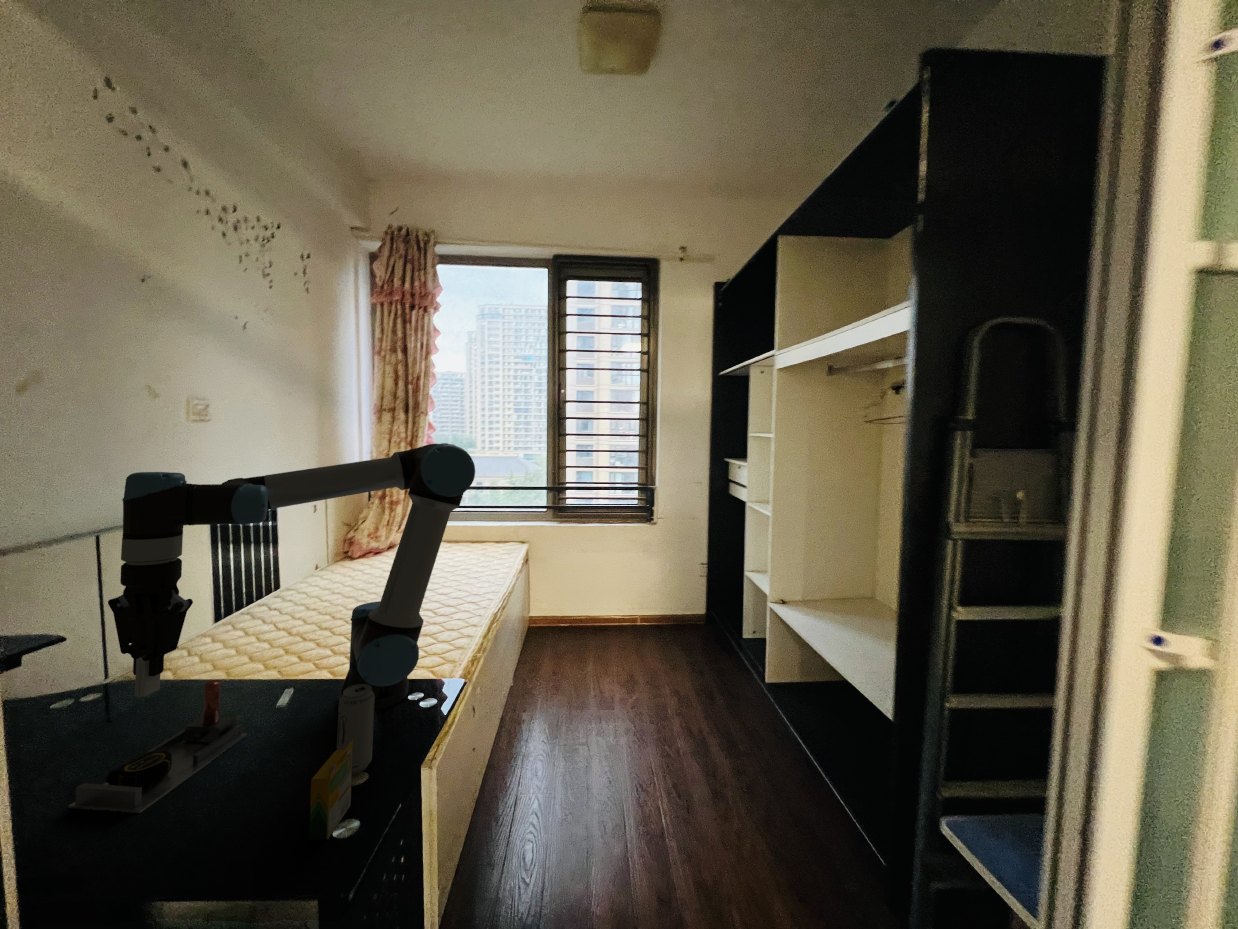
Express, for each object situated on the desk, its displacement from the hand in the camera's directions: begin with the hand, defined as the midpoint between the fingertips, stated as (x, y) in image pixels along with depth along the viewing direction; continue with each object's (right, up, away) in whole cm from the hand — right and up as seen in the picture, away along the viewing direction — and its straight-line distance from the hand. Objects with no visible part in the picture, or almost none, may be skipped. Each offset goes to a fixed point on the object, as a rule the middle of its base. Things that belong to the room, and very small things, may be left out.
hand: (147, 692), depth 81 cm
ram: (-1, -16, +12) cm, 20 cm away
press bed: (-1, -16, +5) cm, 17 cm away
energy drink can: (+32, -18, +8) cm, 38 cm away
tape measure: (-2, -16, 0) cm, 16 cm away
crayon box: (+36, -19, -6) cm, 41 cm away
